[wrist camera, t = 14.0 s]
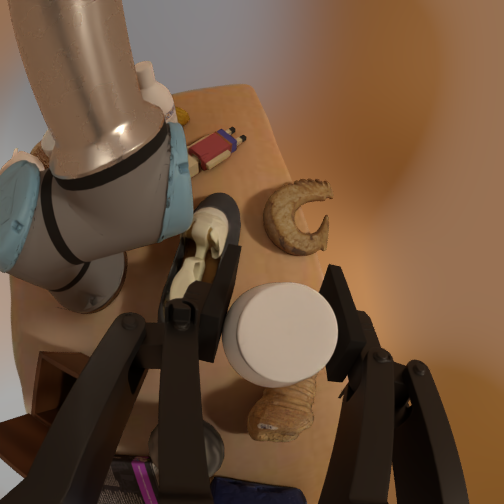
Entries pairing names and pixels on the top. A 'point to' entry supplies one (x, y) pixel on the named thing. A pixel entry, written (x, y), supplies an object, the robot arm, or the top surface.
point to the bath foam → (155, 91)
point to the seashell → (282, 412)
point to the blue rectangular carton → (253, 493)
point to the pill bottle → (279, 334)
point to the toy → (212, 150)
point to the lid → (21, 442)
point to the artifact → (282, 217)
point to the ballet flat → (202, 246)
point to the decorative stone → (211, 444)
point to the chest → (54, 382)
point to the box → (131, 481)
